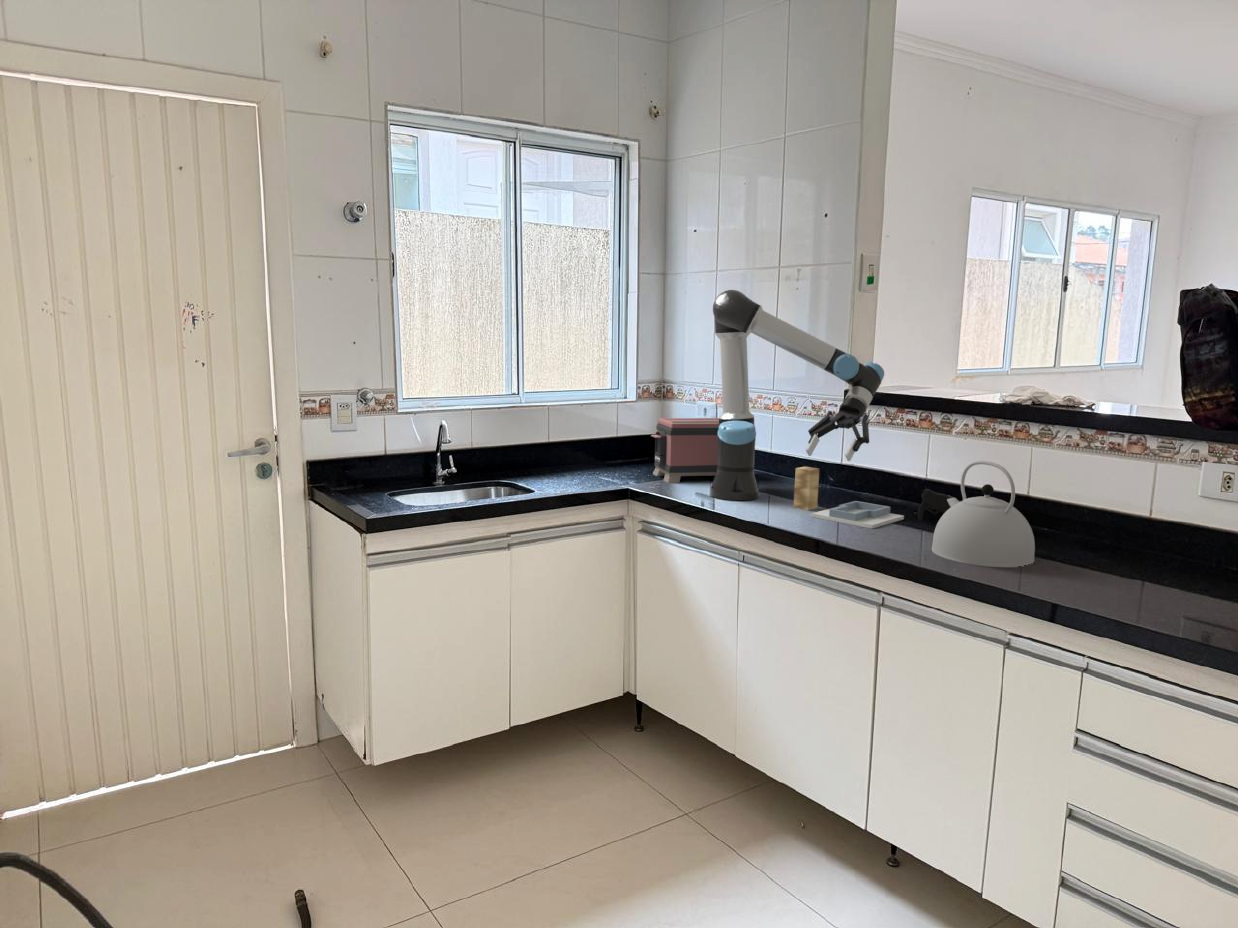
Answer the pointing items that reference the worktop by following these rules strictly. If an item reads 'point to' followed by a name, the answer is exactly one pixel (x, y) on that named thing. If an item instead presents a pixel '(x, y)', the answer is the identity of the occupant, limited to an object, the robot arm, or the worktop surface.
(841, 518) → the grey shape fitting board
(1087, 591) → the worktop surface
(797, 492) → the block
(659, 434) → the toaster
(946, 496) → the gun
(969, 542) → the kettle
